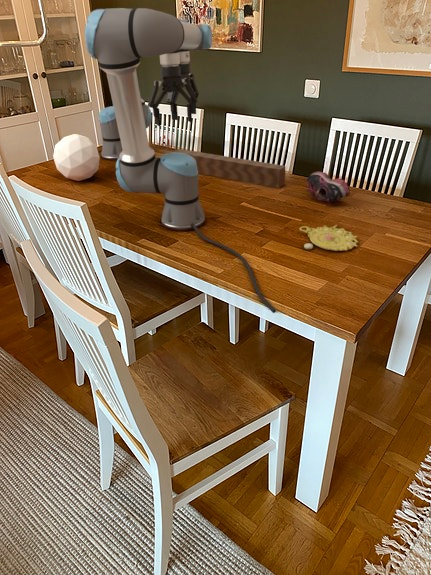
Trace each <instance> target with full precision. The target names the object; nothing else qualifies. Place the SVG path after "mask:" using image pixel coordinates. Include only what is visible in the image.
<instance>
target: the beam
mask: <svg viewBox="0 0 431 575" xmlns="http://www.w3.org/2000/svg"><path fill="white" fill-rule="evenodd" d="M174 152H177V153H184V154H187V155H190V156H192V157H193V158H194V159H195V160H196V163H197V171H198V174H200V175H206V176H212V177H216V178H222V179H227V180H233V181H238V182H244V183H249V184H253V185H259V186H264V187H268V188H269V187H270V188H276V189H280V188H282V187H283V186H285V184H286V181H285V180H286V165H283V164H276V163H269V162H263V161H257V160H251V159H244V158H238V157H232V156H227V155H220V154H213V153H206V152H200V151H195V150H189V149H182V148H179V149H178V150H177V149H176V150H174Z"/></svg>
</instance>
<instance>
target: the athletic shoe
mask: <svg viewBox="0 0 431 575" xmlns="http://www.w3.org/2000/svg"><path fill="white" fill-rule="evenodd" d="M306 185H307V187H308V189H304V191H306V192H310V193H311V194H312V196H313V198H317V200H318V201H319V202H327V203H333V202H336V201H338V200H341V199H345V198H347V197H349V196H350V195H351V192H350V190H351V189H350V186H349V184H348V182H345V180H344V179H342V178H340V177H339V178H338V177H336V178H334V179H333V178H330V176H329V175H328V174H327V173H326V172H323V171H314V172H312V173H311V174H310V175H309V176H308V177H307V178H306Z"/></svg>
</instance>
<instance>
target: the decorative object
mask: <svg viewBox="0 0 431 575" xmlns="http://www.w3.org/2000/svg"><path fill="white" fill-rule="evenodd" d="M303 228H304V229H305V230H304V229H303ZM299 231H300V232H303V233H305V234H307V237H308V238H309V240H310V241H311V243H304V244H303V248H304V249H305V250H313V249H314V245H315V246H316V247H318V248H321V249H324V250H328V251H335V252H341V251H348V250H352V249H354V247H356V248H358V247H359V245H358V244H357V243H359V240H357V238H359V237H358V235H353V234H352V231H347V230H346V229H345V228H344V227H342V228H338V224H335V225H333V226H331V227H328V226H327V225H326V224H325V225H323V226H322V227H321V226H317V227H316V228H314V227H309V226H308V225H302V226H300V227H299ZM313 244H314V245H313Z"/></svg>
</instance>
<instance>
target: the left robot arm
mask: <svg viewBox="0 0 431 575" xmlns="http://www.w3.org/2000/svg"><path fill="white" fill-rule="evenodd" d="M104 9H105V8H96V9H93V10H92V11H91V12H89V14H88V16H87V18H86V20H87V19H88V17H89V15H90V14H91V13H92V12H93V11H96V10H104ZM109 9H127V7H126V8H125V7H124V8H123V7H114V8H109ZM178 19H179V20H180V21H181V22H186V23H189V22H188V20H187V19H186V18H185V19H184V18H182V19H181V18H178ZM190 54H191V53H190V50H179V56H180V64H179V66H180V71H181V79H184V78H188V79H189V84H190V86H191V88H192V90H193V92H194V94H195V96H196V98H197V99H198V98H199V95H200V92H199V90H198V87H197V83H196V80H195V76H194V73H192V72H191V63H190V62H191V55H190ZM180 87H181V88H182V89H184V88H185V90H186V91H187V89H186V87H185V84H183V82H182V84H181V86H180ZM179 94H180V92H179V91H177V92H167V96H166V100H165V101H166V103H167V104H169V105H170V113H171V114H170V115H171V120H172V121H173V120H174V121H179V114H178V104H177V103H176V102H177V100H178V98H179ZM189 98H190V99H191V97H189ZM191 100H192V99H191ZM141 102H142V108H143V114H144V120H145V126H146V129H148V128H149V127H150V125H151V124H152V118H153V117H152V115H153V114H152V109H151V108H150V107H149V106H148V104H146V102H145V100H144V99H143V98H141ZM192 115H197V102H196V103H194V105H193V113H192ZM98 122H99V125H100V131H101V138H102V147H101V148H102V149H101V150H98V154H100V153H101V154H100V155H101V158H102V159H103V160H107V161H117V160H118V159H119V158H120V157H119V155H120V153H121V152H122V151H123V149H122V144H121V140H120V135H119V130H118V125H117V121H116V116H115V111H114V106H113V105H112V106H111V105H110V106H106V107H104V108H102V109H101V110H99V112H98Z"/></svg>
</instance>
